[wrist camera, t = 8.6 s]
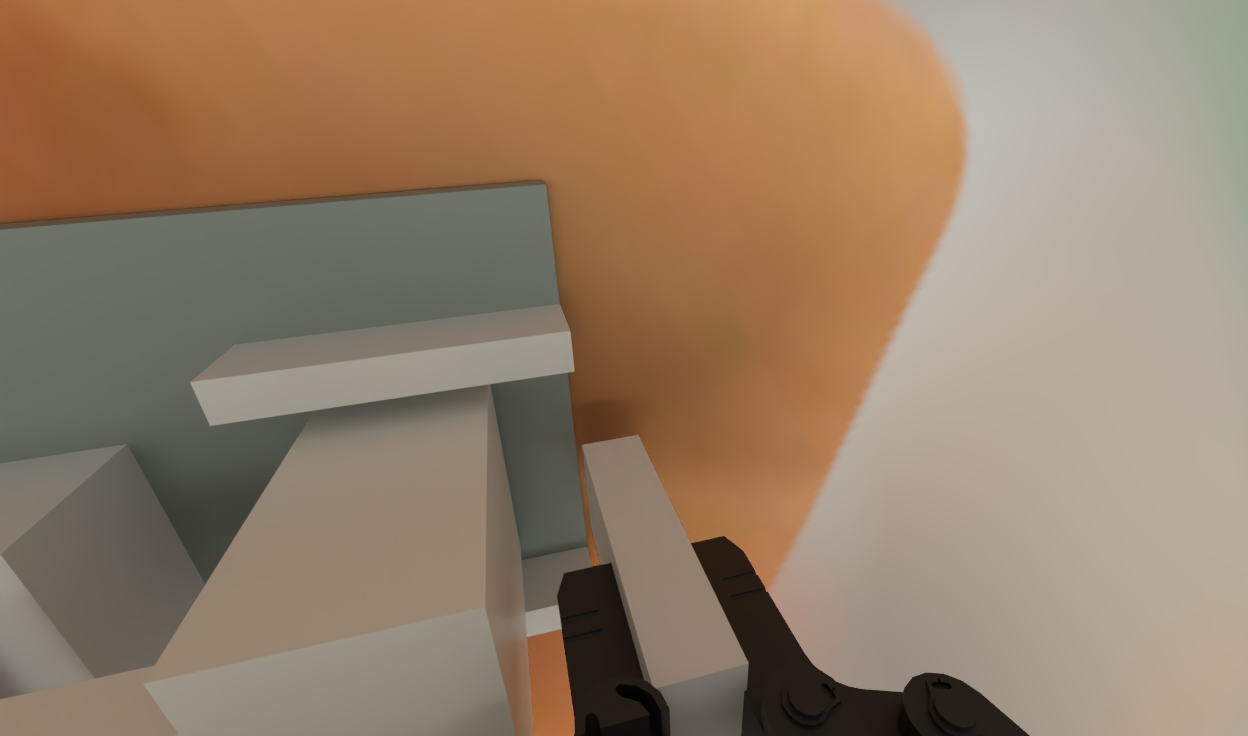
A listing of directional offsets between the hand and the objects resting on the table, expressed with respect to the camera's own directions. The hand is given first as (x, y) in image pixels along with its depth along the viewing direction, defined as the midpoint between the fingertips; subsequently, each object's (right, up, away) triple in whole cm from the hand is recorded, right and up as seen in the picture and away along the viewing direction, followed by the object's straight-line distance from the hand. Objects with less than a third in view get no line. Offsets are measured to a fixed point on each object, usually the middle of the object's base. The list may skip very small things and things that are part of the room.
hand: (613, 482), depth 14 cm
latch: (-7, 0, 0) cm, 7 cm away
